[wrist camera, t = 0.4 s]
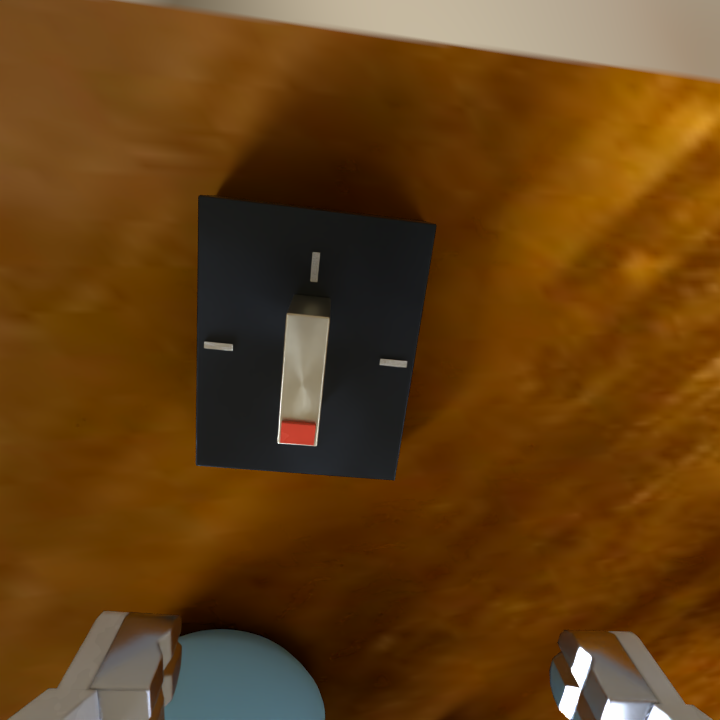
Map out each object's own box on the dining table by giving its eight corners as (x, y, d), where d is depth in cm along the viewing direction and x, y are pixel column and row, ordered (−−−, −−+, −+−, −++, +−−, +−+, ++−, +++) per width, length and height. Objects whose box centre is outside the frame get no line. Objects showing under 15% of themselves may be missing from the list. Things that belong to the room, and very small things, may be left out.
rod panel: (213, 195, 24) (197, 195, 21) (425, 221, 25) (437, 224, 22) (209, 439, 29) (194, 467, 26) (389, 453, 30) (395, 482, 27)
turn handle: (293, 293, 23) (285, 314, 19) (331, 297, 23) (330, 318, 19) (285, 406, 25) (276, 446, 21) (319, 409, 25) (317, 450, 21)
